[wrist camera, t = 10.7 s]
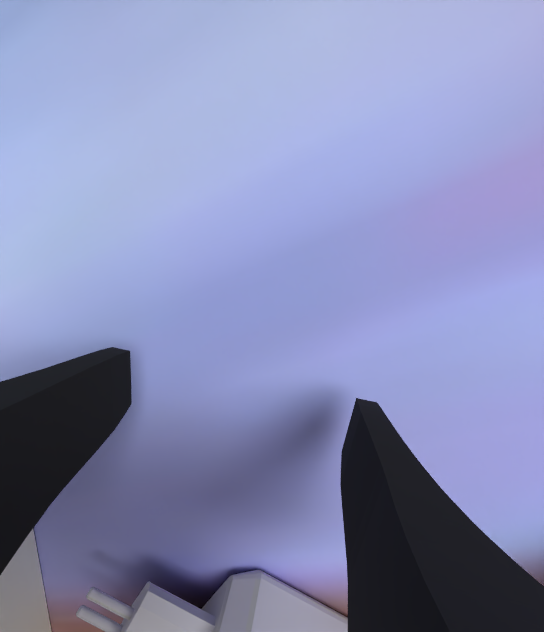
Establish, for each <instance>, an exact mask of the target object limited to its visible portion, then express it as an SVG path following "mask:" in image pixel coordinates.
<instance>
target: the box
mask: <svg viewBox="0 0 544 632" xmlns="http://www.w3.org/2000/svg"><path fill="white" fill-rule="evenodd" d="M0 632H52V631H51V625H50V620H49V614H48V608H47V603H46V597H45V591H44V586H43V580H42V575H41V569H40V563H39V558H38V552H37V546H36V541H35V535H34V530H33V529H32V530H31V532H30V533H29V535H28V536H27V537H26V539H25V540H24V542H23V543H22V545H21V546H20V547H19V549H18V550H17V552H16V553H15V555H14V556H13V558H12V559H11V561H10V562H9V563H8V565H7V566H6V568H5V569H4V571H3V572H2V574H1V575H0Z"/></svg>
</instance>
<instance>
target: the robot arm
mask: <svg viewBox="0 0 544 632" xmlns="http://www.w3.org/2000/svg"><path fill="white" fill-rule="evenodd" d="M130 405H131V367H130V351H128V350H123V349H118V348H114V347H111V348H107V349H103V350H99V351H96V352H93V353H90V354H87V355H84V356H81V357H78V358H75V359H72V360H69V361H66V362H63V363H60V364H57V365H54V366H51V367H48V368H45V369H42V370H38V371H35V372H32V373H28V374H25V375H22V376H18V377H15V378H12V379H9V380H5V381H2V382H0V575H1V574H2V572H3V571H4V569H5V568H6V566H7V565H8V563H9V562H10V561H11V559H12V558H13V556H14V555H15V553H16V552H17V550H18V549H19V547H20V546H21V545H22V543H23V542H24V540H25V539H26V537H27V536H28V535H29V533H30V532H31V530H32V529H33V528H34V526H35V525H36V524H37V522H38V521H39V519H40V518H41V517H42V515H43V514H44V512H45V511H46V510H47V508H48V507H49V506H50V504H51V503H52V502H53V501H54V499H55V498H56V497H57V496H58V494H59V493H60V492H61V491H62V490H63V488H64V487H65V486H66V485H67V484H68V483H69V482H70V480H71V479H72V478H73V477H74V476H75V475H76V474H77V472H78V471H79V470H80V469H81V468H82V467H83V466H84V465H85V463H86V462H87V461H88V460H89V459H90V458H91V457H92V455H93V454H94V453H95V452H96V451H97V450H98V449H99V447H100V446H101V445H102V444H103V443H104V442H105V440H106V439H107V438H108V437H109V436H110V434H111V433H112V432H113V431H114V430H115V428H116V427H117V425H118V424H119V422H120V421H121V419H122V418H123V416H124V415H125V413H126V412H127V410H128V408H129V407H130ZM341 496H342V509H343V521H344V533H345V545H346V557H347V573H348V632H544V586H542V585H541V584H540V583H539V582H538V581H536V580H535V579H534V578H533V577H532V576H531V575H530V574H528V573H527V572H526V571H525V570H524V569H523V568H521V567H520V566H519V565H518V564H517V563H516V562H515V561H513V560H512V559H511V558H510V557H509V556H508V555H507V554H506V553H505V552H504V551H503V550H502V549H501V548H499V547H498V546H497V545H496V544H495V543H494V542H493V541H492V540H491V539H490V538H489V537H488V536H486V535H485V534H484V533H483V532H482V531H481V530H480V529H479V528H478V527H477V526H476V525H475V524H474V523H473V522H472V521H471V520H470V519H469V518H468V517H467V516H466V515H465V513H464V512H463V511H462V510H461V509H460V508H459V507H458V506H457V505H456V504H455V503H454V502H453V501H452V500H451V499H450V498H449V497H448V495H447V494H446V493H445V492H444V491H443V490H442V489H441V488H440V486H439V485H438V484H437V483H436V482H435V481H434V479H433V478H432V477H431V476H430V474H429V473H428V472H427V471H426V470H425V468H424V467H423V466H422V465H421V463H420V462H419V461H418V460H417V458H416V457H415V456H414V454H413V453H412V452H411V450H410V449H409V448H408V446H407V445H406V444H405V442H404V441H403V440H402V438H401V437H400V435H399V434H398V432H397V431H396V430H395V428H394V427H393V425H392V424H391V422H390V421H389V419H388V418H387V416H386V415H385V413H384V412H383V410H382V409H381V407H380V406H379V405H378V403H377V402H372V401H367V400H362V399H358V398H356V401H355V405H354V409H353V412H352V416H351V420H350V423H349V427H348V431H347V434H346V438H345V442H344V445H343V449H342V459H341Z"/></svg>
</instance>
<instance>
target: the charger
mask: <svg viewBox="0 0 544 632" xmlns="http://www.w3.org/2000/svg"><path fill="white" fill-rule="evenodd" d="M86 597H87V599H88V600H90V601H92V602H94V603H96V604H98V605H99V606H101V607H103V608H105V609H107V610H109V611H111V612H113V613H115V614H117V615H118V616H120V617H122V618H124V620H123V621H122V623H121V625H120V624H119V623H117V622H115V621H113V620H111V619H109V618H107V617H105V616H103V615H101V614H100V613H98V612H96V611H94V610H92V609H90V608H88V607H86V606H84V605H82V606H80V608H79V610H78V611H77V613H76V616H77V617H78V618H80V619H82V620H84V621H86V622H88V623H90V624H92V625H94V626H95V627H97V628H99V629H101V630H103V631H105V632H348V618H347V617H346V616H344V615H342V614H340V613H338V612H336V611H335V610H333V609H331V608H329V607H327V606H325V605H323V604H322V603H320V602H318V601H316V600H314V599H312V598H311V597H309V596H307V595H305V594H303V593H301V592H300V591H298V590H296V589H294V588H292V587H290V586H289V585H287V584H285V583H283V582H281V581H279V580H277V579H276V578H274V577H272V576H270V575H268V574H266V573H265V572H263V571H261V570H253V571H248V572H244V573H239V574H234V575H231V576H230V577H229V578H228V579H227V580H226V581H225V582H224V583H223V584H222V586H221V587H220V588H219V589H218V590H217V591H216V592H215V594H214V595H213V596H212V597H211V598H210V599H209V601H208V602H207V603H206V604H205V605H204V606H203V607H202V609H200V608H198V607H196V606H194V605H192V604H190V603H188V602H186V601H185V600H183V599H181V598H179V597H177V596H175V595H173V594H171V593H170V592H168V591H166V590H164V589H162V588H160V587H158V586H156V585H155V584H153V583H151V582H149V581H148V582H147V583H146V585H145V586H144V588H143V589H142V591H141V592H140V594H139V595H138V597H137V598H136V599H135V601H134V602H133V604H132V606H129V605H127V604H125V603H123V602H121V601H119V600H117V599H115V598H114V597H112V596H110V595H108V594H106V593H104V592H102V591H100V590H98V589H97V588H95V587H92V588H91V589H90V590H89V592H88V593H87V595H86Z"/></svg>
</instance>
